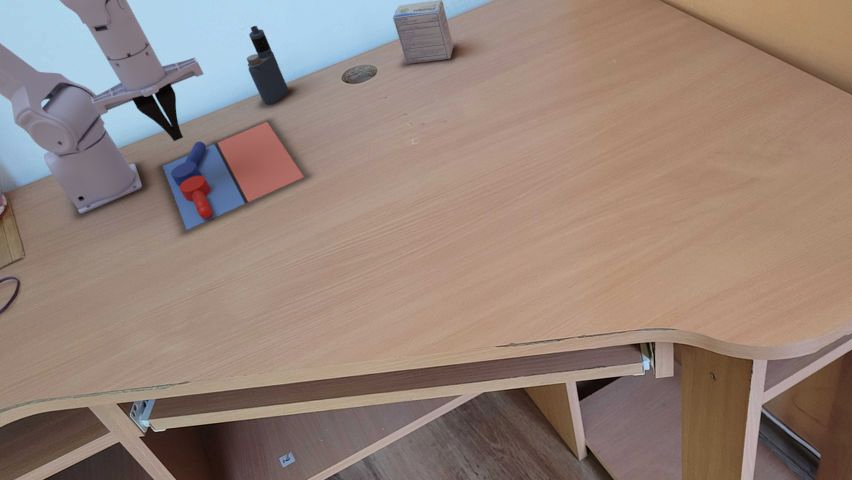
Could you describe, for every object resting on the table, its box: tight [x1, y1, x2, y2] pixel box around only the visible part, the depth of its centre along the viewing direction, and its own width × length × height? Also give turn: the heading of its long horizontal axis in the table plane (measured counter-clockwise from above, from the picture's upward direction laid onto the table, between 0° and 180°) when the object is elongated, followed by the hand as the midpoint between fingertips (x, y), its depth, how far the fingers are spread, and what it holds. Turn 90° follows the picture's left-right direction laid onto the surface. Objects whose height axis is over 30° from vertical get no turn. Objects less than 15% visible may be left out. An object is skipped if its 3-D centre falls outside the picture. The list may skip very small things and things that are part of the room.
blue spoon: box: [171, 140, 207, 186], centre depth 109 cm, size 10×4×2 cm, turn 1°
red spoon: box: [180, 176, 212, 219], centre depth 102 cm, size 10×4×2 cm, turn 30°
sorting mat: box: [162, 121, 305, 231], centre depth 107 cm, size 18×20×1 cm
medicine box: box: [392, 0, 454, 65], centre depth 120 cm, size 8×4×9 cm, turn 84°
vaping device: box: [246, 25, 290, 105], centre depth 118 cm, size 3×5×12 cm, turn 150°
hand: (177, 136), depth 103 cm, fingers closed
